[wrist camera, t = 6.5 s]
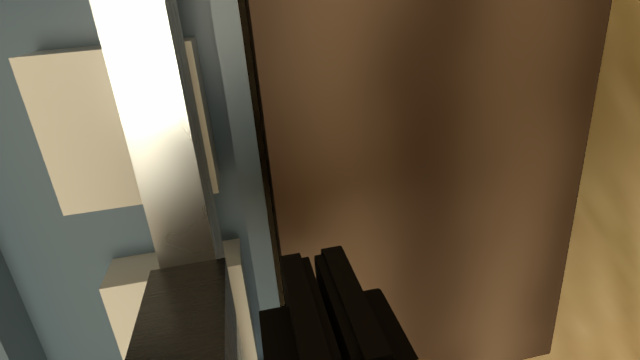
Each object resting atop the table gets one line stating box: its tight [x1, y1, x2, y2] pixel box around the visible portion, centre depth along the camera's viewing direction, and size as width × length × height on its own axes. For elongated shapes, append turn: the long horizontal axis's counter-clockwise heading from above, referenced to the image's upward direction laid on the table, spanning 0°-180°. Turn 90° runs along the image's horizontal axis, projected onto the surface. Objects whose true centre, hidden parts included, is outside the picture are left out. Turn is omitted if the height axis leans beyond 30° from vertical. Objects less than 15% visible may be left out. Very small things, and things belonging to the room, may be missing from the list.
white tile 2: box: [99, 238, 258, 360], centre depth 18 cm, size 5×5×2 cm
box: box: [0, 0, 280, 360], centre depth 16 cm, size 11×18×2 cm, turn 4°
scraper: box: [89, 0, 245, 360], centre depth 11 cm, size 2×16×7 cm, turn 4°
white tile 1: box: [8, 36, 220, 216], centre depth 14 cm, size 5×5×2 cm
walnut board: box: [245, 0, 612, 360], centre depth 17 cm, size 12×18×3 cm, turn 4°
